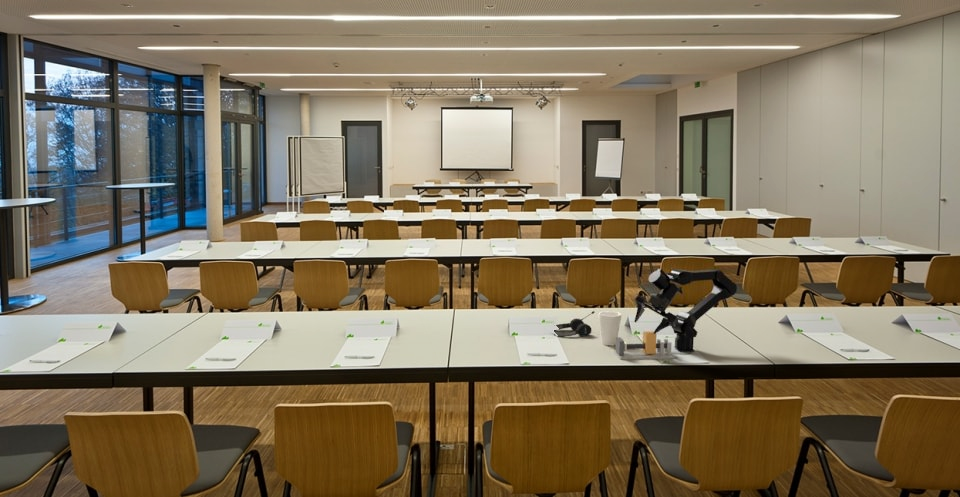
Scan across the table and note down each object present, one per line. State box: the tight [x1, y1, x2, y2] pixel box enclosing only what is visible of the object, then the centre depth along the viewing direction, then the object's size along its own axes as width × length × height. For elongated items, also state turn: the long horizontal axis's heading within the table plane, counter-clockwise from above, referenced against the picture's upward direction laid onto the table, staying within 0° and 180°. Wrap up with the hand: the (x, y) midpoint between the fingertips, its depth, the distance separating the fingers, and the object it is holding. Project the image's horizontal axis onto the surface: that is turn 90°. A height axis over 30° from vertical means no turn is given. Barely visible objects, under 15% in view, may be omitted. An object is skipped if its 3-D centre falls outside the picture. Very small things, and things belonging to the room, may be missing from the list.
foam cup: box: [598, 310, 622, 346], centre depth 307 cm, size 10×9×13 cm
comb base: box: [613, 336, 676, 360], centre depth 291 cm, size 22×10×7 cm, turn 93°
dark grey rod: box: [624, 341, 668, 351], centre depth 290 cm, size 21×3×3 cm, turn 93°
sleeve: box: [641, 330, 657, 354], centre depth 290 cm, size 4×5×8 cm
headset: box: [554, 310, 595, 338], centre depth 325 cm, size 14×10×20 cm
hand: (644, 327), depth 290 cm, fingers open, 9 cm apart
